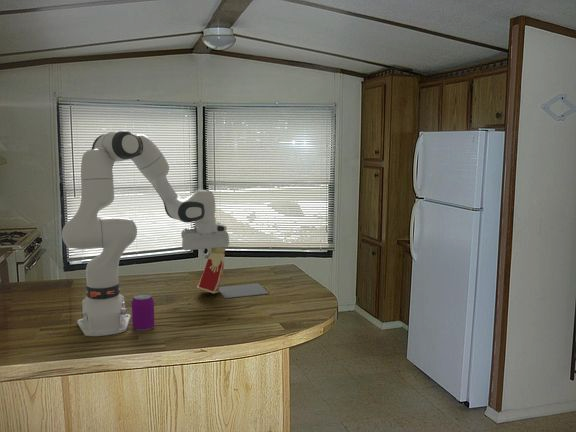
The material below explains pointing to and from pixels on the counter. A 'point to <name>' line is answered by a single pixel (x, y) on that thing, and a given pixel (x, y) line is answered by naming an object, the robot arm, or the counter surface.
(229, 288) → the mat
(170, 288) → the counter surface
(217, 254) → the milk carton
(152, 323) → the beverage can
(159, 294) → the counter surface
